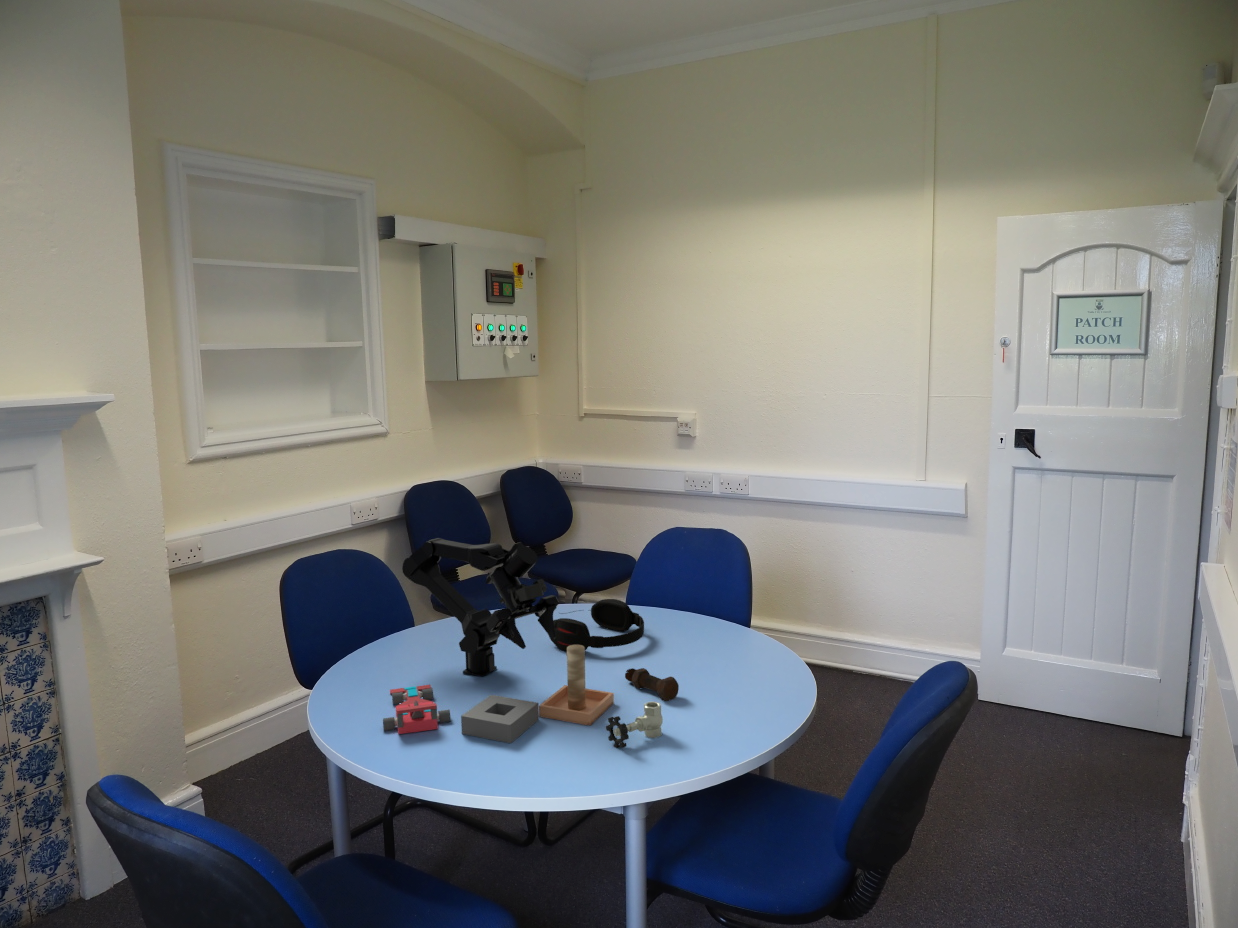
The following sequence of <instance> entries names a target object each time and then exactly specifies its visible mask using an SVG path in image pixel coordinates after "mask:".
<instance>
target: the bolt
mask: <svg viewBox="0 0 1238 928" xmlns="http://www.w3.org/2000/svg"><path fill="white" fill-rule="evenodd" d="M624 678H625V679H626V680H627V681H629V682H631V683H632V685H633V686H634V687H635V688H636V689H638V690H641V689H640V688H642V689H644V687H645V689H648V690H650V691H653V692H656V693H657V694H658V696H659V698H660V700H661V701H663V700H664V702H670V701H672V700H674V699H675V698H676V697H677V696H678V693H679V689H680V687H679V682H678V681H677V680H676V678H675V677H674V676H668V677H665V678H659V677H657V676H654V675H653V674H652V675H651V674H650V672H649V671H648V670H647V669H646V668H644V667H641V668H638V669H636V668H628V669H626V670H625V674H624ZM669 700H670V701H669Z"/></svg>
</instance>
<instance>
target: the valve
mask: <svg viewBox="0 0 1238 928" xmlns="http://www.w3.org/2000/svg"><path fill="white" fill-rule="evenodd" d="M643 712H644V714H643V716H642V715H640V716H636V717H635V719H634V721H633V722H630V723H627V724H626V723H625V722H623V723H621V722H619V721H621V718H620V716H611V717H608V718H607V722H608V723H609V724H607V725H606V726H605V731H608V732H609V735H608V736H607V738H608V741H609V742H612V741H613V742H614V743H613V747H614V749H619V748H621V749H623V748H625V747H627V742H624V741H627V740H629V739H630V738H629V737H630V736H629V734H628V732H629V733H631V732H635V731H638V732H641V733H642V732H644V733H643V734H644V735H645V738H651V739H656V738H658V737H661V736H662V725H663V720H664V719H663V714H662V704H661V703H660V702H657V701H647V702H645V703H644V704H643ZM615 726H616V728H614V727H615ZM617 737H619V738H617Z"/></svg>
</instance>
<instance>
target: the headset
mask: <svg viewBox="0 0 1238 928" xmlns="http://www.w3.org/2000/svg"><path fill="white" fill-rule="evenodd" d="M581 611H583V609H582V610H580V609H579V610H578V612H581ZM589 611H590V616H591V618H592V620H593V621H594V622H595V623H596V624H597V625H598V626H600V627H601V628H604V629H606V630H609V631H612V632H613V631H614V632H619V633H622V634H618V635H612V636H603V635H591V634H590V631H589V628H588V625H587V624H586V623H584V622H583V621H580V620H577V619H573V618H568V617H567V618H565V617H564V618H563V617H561V618H557V619H553V622H554V628H555V635H556V638H555V639H552V638H551V637H550V636H549V635H548V638H549V639H550V641H551V642H552V643H553V644H554V646H556V647H557V648H558V649H559V650H560V651H562V652H565V653H567V647H568V646H570V645H582V646H584V647H585V651H587V650H588V648H589V647H590V648H592V649H604V648H611V647H613V648H615V647H622V646H626V645H629V644H633V643H635V642H637V641H639V640H640V639H641V638H642V637H644V634H645V621H644V618H643V617H642V616H641V615H640V613H637V612H634V611H633V610H632V608H630V606H629V605H628V603H626V602H625V601H622V600H619V599H617V598H608V599H607V598H605V599H601V600H598V601H597V602H595V603H594V604H592V605H591V608H590V609H589ZM575 612H576V610H574V611H570V612H568V614H570V613H575ZM559 614H561V615H564V614H565V615H566V614H567V612H564V613H563V612H561V613H560V612H559ZM633 625H635V626H636V627H637V629H633V630H632V631H629V632H627V631H628V630H630V628H631V627H632V626H633ZM623 632H626V633H623Z"/></svg>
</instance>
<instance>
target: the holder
mask: <svg viewBox="0 0 1238 928" xmlns="http://www.w3.org/2000/svg"><path fill="white" fill-rule="evenodd" d="M460 720H461V721H460V723H461V724H460V725H461V734H462V735H467V736H471V737H477V738H482V739H487V740H491V741H497V742H502V743H507V744H512V743H513V742H514V741H516V740H517V739H518V738H519V737H520V736H521V735H523V734H524V733H525V732H526V731H527V730H528V729H530V728H531V727H532V726H534V724H535V725H536V723H538V721H539V702H536V701H535V702H534V701H529V700H524V699H518V698H512V697H507V696H500V695H496V694H495V695H494V694H490V695H488V696H487V697H486V698H485V699H483V700H482V701H480V702H479V703H478V704H476V705H475V706H473V707H471V708H470V709H469V710H468V711H465V713H464V712H463V714H462V715H461V716H460Z"/></svg>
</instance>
